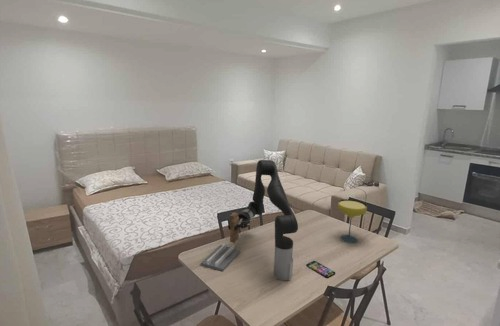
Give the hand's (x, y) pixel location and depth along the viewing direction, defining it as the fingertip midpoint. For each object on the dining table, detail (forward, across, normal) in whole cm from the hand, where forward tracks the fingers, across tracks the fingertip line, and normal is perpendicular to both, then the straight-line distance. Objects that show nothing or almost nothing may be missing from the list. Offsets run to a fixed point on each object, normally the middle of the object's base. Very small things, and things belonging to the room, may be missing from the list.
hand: (231, 228), depth 156 cm
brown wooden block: (-3, 0, +9) cm, 9 cm away
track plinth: (+1, -6, +20) cm, 21 cm away
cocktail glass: (-57, +59, +20) cm, 85 cm away
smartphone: (-13, +48, +20) cm, 54 cm away
